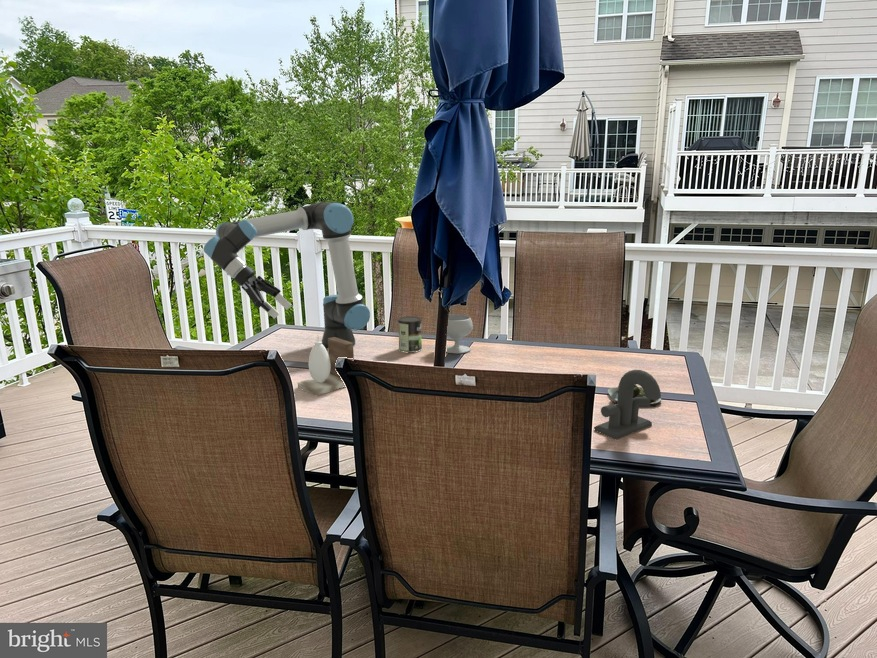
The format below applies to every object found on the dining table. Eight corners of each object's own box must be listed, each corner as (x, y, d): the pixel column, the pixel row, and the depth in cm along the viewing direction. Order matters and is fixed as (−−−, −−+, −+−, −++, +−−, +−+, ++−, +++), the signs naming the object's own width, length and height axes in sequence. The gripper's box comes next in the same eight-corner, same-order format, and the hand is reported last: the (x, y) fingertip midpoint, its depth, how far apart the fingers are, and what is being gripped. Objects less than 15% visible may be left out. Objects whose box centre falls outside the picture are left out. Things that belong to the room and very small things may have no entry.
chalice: (456, 344, 281) (456, 311, 277) (479, 350, 271) (479, 317, 267) (434, 350, 271) (434, 317, 267) (457, 357, 262) (457, 322, 258)
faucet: (635, 449, 176) (641, 383, 171) (592, 430, 188) (596, 368, 183) (673, 433, 186) (679, 370, 181) (630, 416, 199) (634, 357, 193)
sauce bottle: (334, 383, 225) (331, 335, 221) (313, 387, 221) (310, 338, 217) (327, 377, 232) (324, 330, 227) (307, 380, 228) (304, 333, 223)
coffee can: (423, 346, 277) (423, 316, 273) (419, 353, 267) (419, 322, 263) (401, 346, 278) (400, 315, 275) (396, 352, 268) (395, 321, 265)
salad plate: (598, 388, 225) (599, 376, 224) (647, 388, 225) (648, 376, 224) (612, 408, 207) (612, 395, 205) (665, 408, 206) (666, 395, 205)
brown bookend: (336, 376, 238) (334, 336, 234) (354, 384, 230) (353, 343, 226) (297, 387, 227) (294, 345, 223) (315, 395, 219) (313, 352, 214)
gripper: (247, 273, 241) (288, 310, 244) (219, 285, 217) (264, 327, 220) (259, 259, 239) (300, 297, 242) (232, 270, 215) (278, 312, 218)
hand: (283, 311), depth 231 cm, fingers open, 13 cm apart
